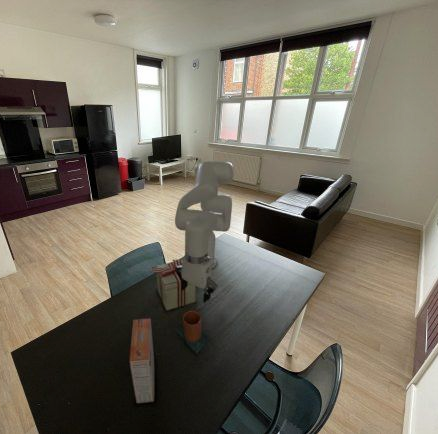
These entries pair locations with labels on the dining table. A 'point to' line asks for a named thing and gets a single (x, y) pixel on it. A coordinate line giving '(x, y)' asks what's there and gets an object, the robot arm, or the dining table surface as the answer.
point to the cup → (192, 326)
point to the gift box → (173, 286)
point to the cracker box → (142, 360)
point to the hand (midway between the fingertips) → (195, 294)
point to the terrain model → (197, 344)
